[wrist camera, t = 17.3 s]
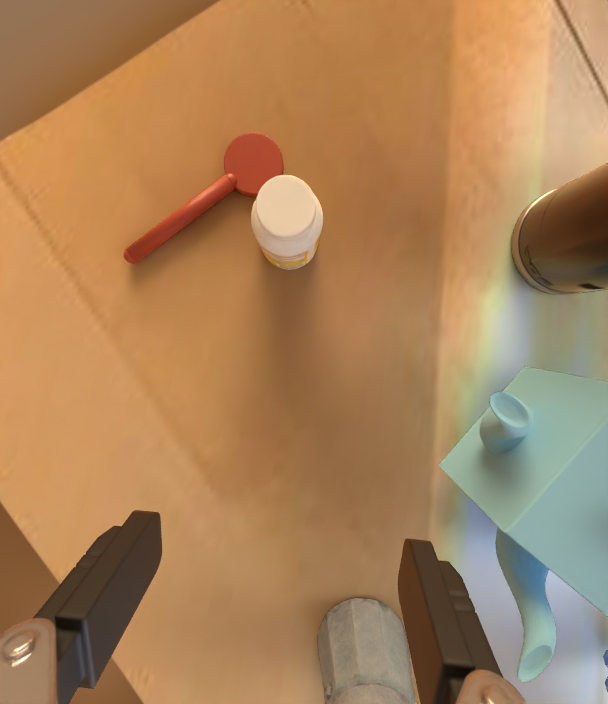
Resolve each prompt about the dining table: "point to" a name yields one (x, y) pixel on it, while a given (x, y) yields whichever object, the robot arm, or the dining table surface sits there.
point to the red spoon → (219, 188)
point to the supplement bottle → (287, 221)
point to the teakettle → (542, 493)
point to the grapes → (607, 659)
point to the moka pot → (364, 655)
